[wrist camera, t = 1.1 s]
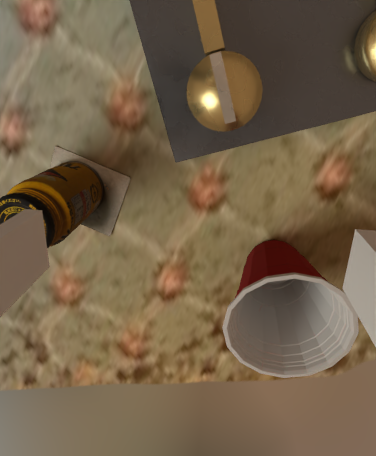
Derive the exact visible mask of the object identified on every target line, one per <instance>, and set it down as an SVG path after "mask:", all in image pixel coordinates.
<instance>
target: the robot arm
mask: <svg viewBox="0 0 376 456" xmlns="http://www.w3.org/2000/svg"><path fill="white" fill-rule="evenodd" d="M48 268H49V260H48V252H47V244H46V237H45V229H44V221H43V214H42V210H30V209H25V210H23V211H21V212H20V213H18V214H17V215H15V216H13V217H12V218H10V219H8V220H7V221H5V222H4V223H2V224H0V317H1V316H2V315H3V314H4V313H5V312H6V311H7V310H8V309H9V308H10V307H11V306H12V305H13V304H14V303H15V302H16V301H17V299H18V298H19V297H20V296H21V295H22V294H23V293H24V292H25V291H26V290H27V289H28V288H29V287H30V286H31V285H32V284H33V283H34V282H35V281H36V280H37V279H38V278H39V277H40V276H41V275H42V274H43V273H44V272H45V271H46V270H47V269H48ZM343 290H344V292H345V294H346V295H347V297H348V299H349V301H350V302H351V304H352V306H353V308H354V310H355V311H356V313H357V315H358V317H359V318H360V320H361V322H362V324H363V325H364V327H365V329H366V331H367V332H368V334H369V336H370V338H371V340H372V341H373V343H374V345H375V347H376V231H375V230H360V229H355V233H354V238H353V242H352V247H351V252H350V256H349V261H348V266H347V270H346V275H345V280H344V284H343Z"/></svg>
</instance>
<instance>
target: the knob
mask: <svg viewBox="0 0 376 456" xmlns="http://www.w3.org/2000/svg"><path fill="white" fill-rule="evenodd" d="M192 1H193V5H194V10H195V14H196V18H197V23H198V27H199V31H200V36H201V40H202V44H203V48H204V53H205V55H206V57H205V58H203V59H202V60H201V61H200V62H199V63H198V64H197V65H196V66H195V68H194V69H193V71H192V72H191V75H190V77H189V80H188V84H187V101H188V105H189V108H190V110H191V112H192V114H193V116H194V117H195V118H196V119H197V121H198V122H200V123H201V124H202V125H203V126H205V127H207V128H209V129H211V130H215V131H222V132H224V131H232V130H235V129H238V128H240V127H242V126H243V125H245V124H246V123H247V122H248V121H250V120H251V118H252V117H253V116H254V115H255V113H256V112H257V110H258V108H259V105H260V102H261V99H262V81H261V77H260V75H259V72H258V70H257V68H256V67H255V66H254V64H253V63H252V62H251V61H250V60H249V59H248V58H246V57H245V56H243V55H241V54H239V53H236V52H232V51H224V50H225V46H224V42H223V37H222V32H221V28H220V23H219V18H218V14H217V9H216V4H215V0H192Z"/></svg>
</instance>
